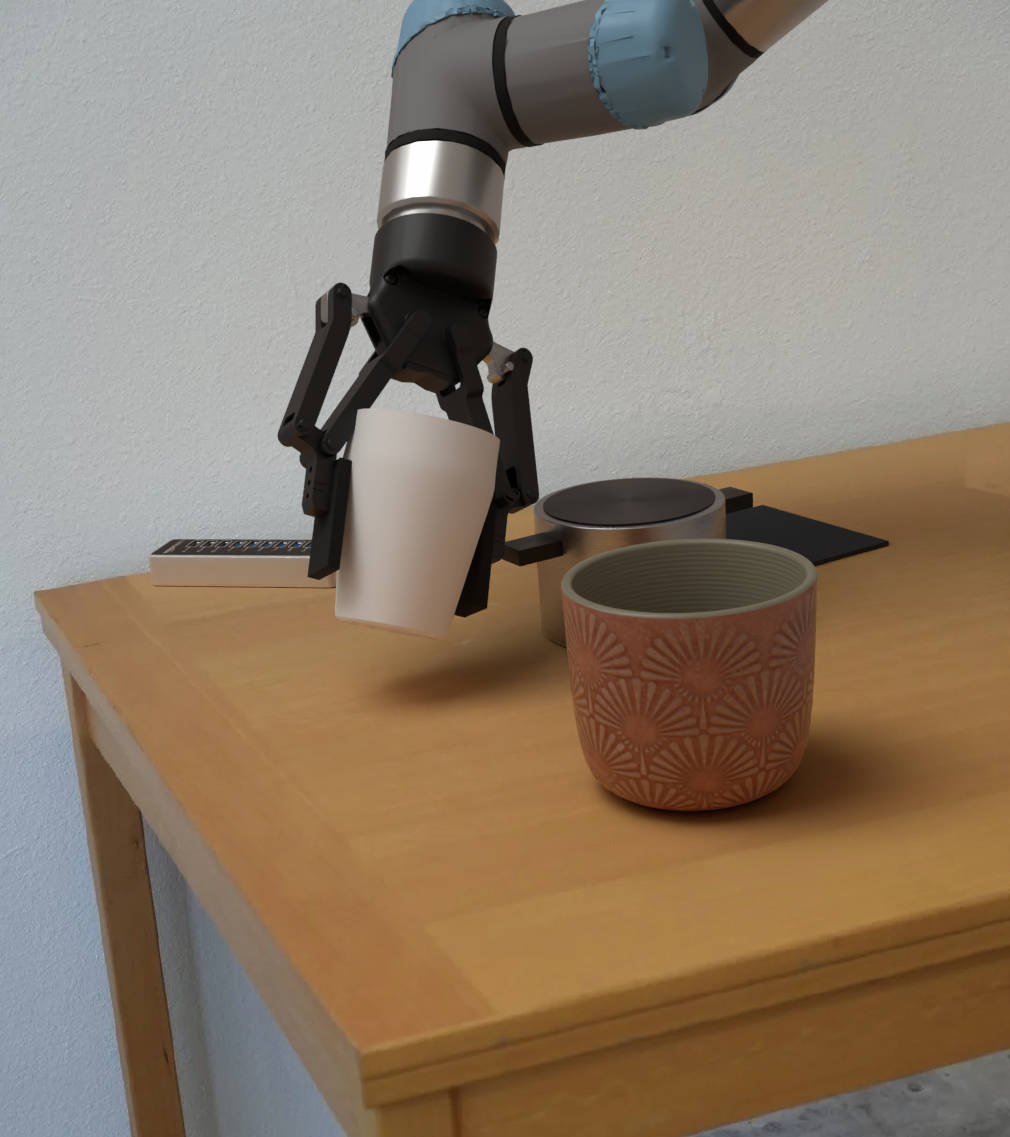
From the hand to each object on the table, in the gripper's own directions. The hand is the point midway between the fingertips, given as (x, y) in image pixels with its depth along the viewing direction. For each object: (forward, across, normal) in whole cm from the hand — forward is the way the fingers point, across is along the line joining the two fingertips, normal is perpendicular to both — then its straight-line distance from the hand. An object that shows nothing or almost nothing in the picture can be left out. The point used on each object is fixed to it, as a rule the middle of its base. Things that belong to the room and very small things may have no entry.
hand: (398, 592), depth 99 cm
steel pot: (-3, -18, -2) cm, 18 cm away
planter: (+12, -10, +17) cm, 22 cm away
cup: (+2, 0, -1) cm, 3 cm away
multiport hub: (-8, -2, -29) cm, 30 cm away
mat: (-13, -32, -8) cm, 35 cm away
